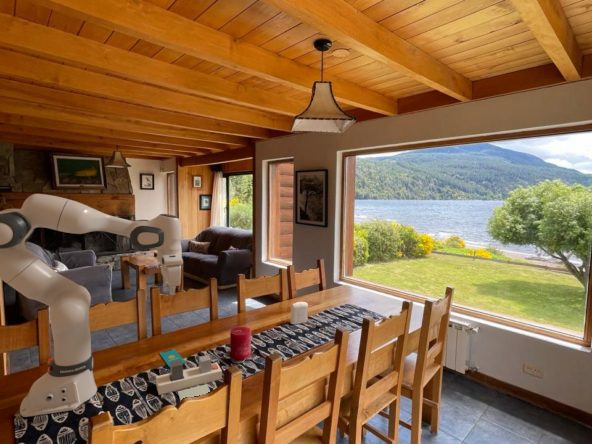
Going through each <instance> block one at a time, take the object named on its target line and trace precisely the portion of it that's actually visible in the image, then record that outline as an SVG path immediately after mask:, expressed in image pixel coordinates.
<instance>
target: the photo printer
mask: <svg viewBox="0 0 592 444" xmlns="http://www.w3.org/2000/svg"><path fill="white" fill-rule="evenodd" d="M290 307H291V308H290V320H289V321H290V324H291V325H297V324H299V325H300V324H306V323H307V322H308V314H309V313H308V312H309V305H308V303H307V302H305V301H296V302H294V303H292V304H291V306H290Z"/></svg>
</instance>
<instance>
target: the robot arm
mask: <svg viewBox="0 0 592 444" xmlns="http://www.w3.org/2000/svg"><path fill="white" fill-rule="evenodd" d="M37 228H46V229H50V230H54V231H58V232H63V233H66V234H67V233H69V234H74V235H75V234H76V235H82V234H86V233H90V232H91V233H92V232H106V233H110V234H116V235H119V236H124V237H127V238H129V241H130V244H131V245H132V246H133V248H135V249H137V250H140V251H141V250H142V251H147V250H151V249H156V250H157V251H156V253H157V254H156V255H157V256H156V259H157V260H156V261H157V262H158V263H160V271H161V272H160V273H161V275H162V276H163V278H164V285H165V286H164V287H165V289H169V291H168V292H169V295H170V296H175V295H176V288H177V287H178V286H180V283H181V276H182V275H181V274H182V265H183V264H184V261H183V260H184V259H183V253H182V252H183V251H182V245H181V243H182V242H181V241H182V238H183V236H182V235H183V233H182V231H183V230H182V223H181V220H180V218H179V217H177V216H176V215H173V214H170V213H169V214H168V213H160V214H158V216H157V215H156V217H154V218H152V219H150V220H149V219H138V220H133V219H132V220H130V219H127V218H126V219H125V218H122V217H118V216H115V215H114V216H113V215H110V214H108V213H104V212H102V211H100V210H99V209H98V210H97V209H96V208H93V207H92V206H89V205H87V204H84V203H81V202H79V201H76V200H73V199H69V198H67V197H66V198H65V197H61V196H57V195H51V194H45V193H44V194H43V193H33V194H31V195H29V196H28V197H27V198H26V199H25V200H24V201H23V203H22V206H21V207H11V208H7V209H2V210H0V280H2V281H3V282H4V283H5V284H7V285H8V286H10V287H11V288H13V289H14V290H15V291H17V292H18V293H20V294H21V295H23V296H24V297H26V298H27V299H29V300H33V301H34V300H35V301H37V302H39V303H42V304H45V305H46V306H48V307H50V310H49V321H50V329H51V334H52V335H51V336H52V339H53V351H54V352H53V355H54V356H53V357H50V358H48V360H47V371H46V373H45V374H43V375H42V376H41V377H39V378H38V379H36V380H35V381H34V382H33V383H32V385H31V386H30V389H29V392H28V394H27V395H26V396H25V397H24V398H23V399H22V401H21V403H20V406H19V415H20V416H21V417H23V418H28V417H35V416H41V415H48V414H54V413H60V412H69V411H73V410H75V409H77V408H78V407H80V405H82V404H83V403H85V402H87V401H88V400H91V398H93V397H94V396H95V395H96V394H97V391H98V387H97V384H96V382H95V377H94V371H93V369H94V357H93V353H92V336H91V335H92V334H91V329H90V307H91V301H92V297H91V294H90V292H89V291H88V289H87V288H86V287H85V286H83V285H80V284H78V283H76V282H75V281H73V280H71V279H70V278H67V277H66V276H63V275H62V274H60V273H58V272H57V271H55V270H54V269H53V268H52V267H50V266H49V265H48V264H47V263H45V262H43V261H42V260H41V259H40V258H38V257H37V256H35V255H34V254H33V253H32V252H30V251H29V250H28V249H27V247H26V246H25V244H26V243H27V242H28V241H29V239H30V238H31V237H32V235H34V232H35V231H36V229H37Z"/></svg>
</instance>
